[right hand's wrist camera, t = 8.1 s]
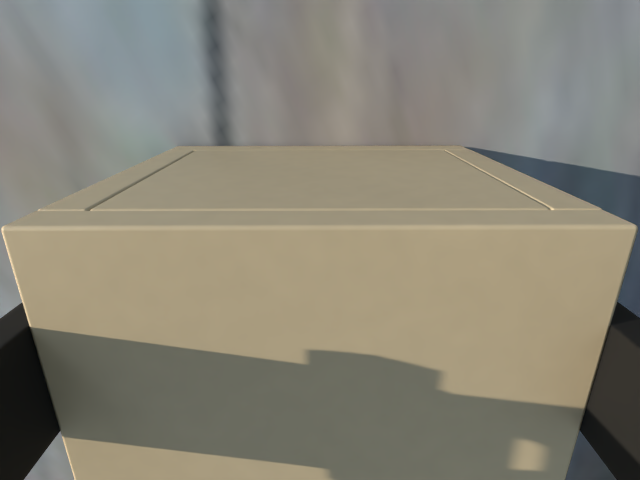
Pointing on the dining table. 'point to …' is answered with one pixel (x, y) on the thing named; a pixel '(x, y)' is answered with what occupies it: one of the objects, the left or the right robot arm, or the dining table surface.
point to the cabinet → (319, 315)
